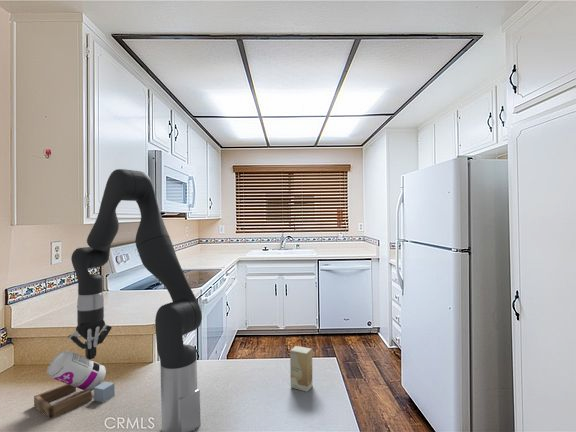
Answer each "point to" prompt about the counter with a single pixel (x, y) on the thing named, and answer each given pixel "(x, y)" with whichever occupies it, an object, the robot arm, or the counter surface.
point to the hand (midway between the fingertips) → (91, 358)
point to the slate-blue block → (104, 391)
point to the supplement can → (76, 370)
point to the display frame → (63, 406)
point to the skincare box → (301, 368)
